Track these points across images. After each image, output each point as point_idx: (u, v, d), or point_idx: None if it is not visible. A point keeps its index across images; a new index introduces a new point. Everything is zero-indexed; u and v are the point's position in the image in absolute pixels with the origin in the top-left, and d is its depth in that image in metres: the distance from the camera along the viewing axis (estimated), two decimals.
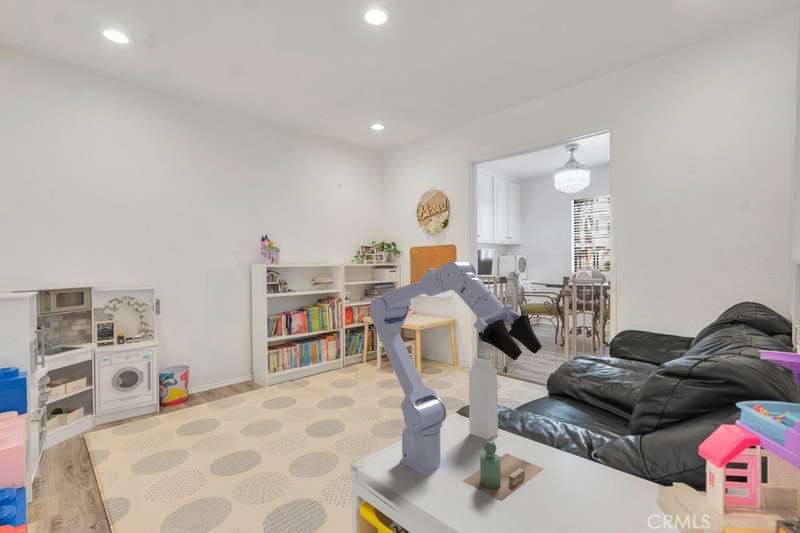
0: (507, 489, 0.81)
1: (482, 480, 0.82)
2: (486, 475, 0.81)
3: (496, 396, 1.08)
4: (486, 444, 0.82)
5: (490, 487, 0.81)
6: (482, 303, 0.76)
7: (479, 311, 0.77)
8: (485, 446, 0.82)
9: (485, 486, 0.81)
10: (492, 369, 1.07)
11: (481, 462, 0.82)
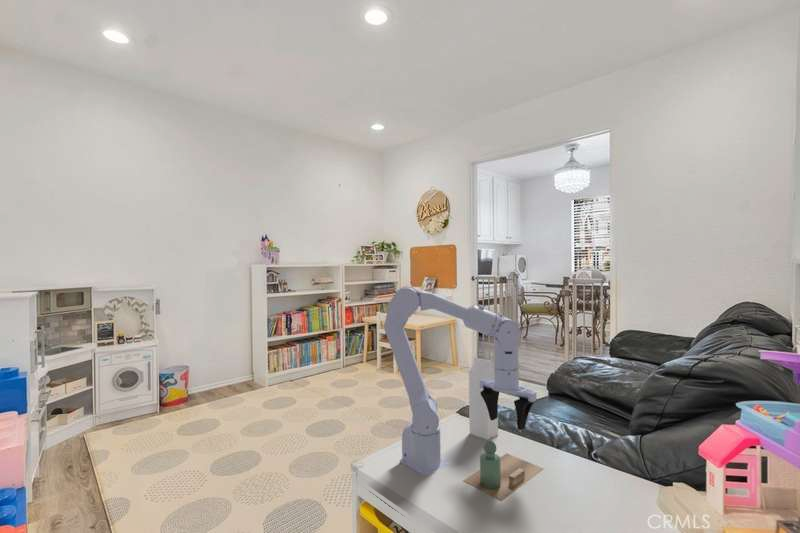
0: (507, 489, 0.81)
1: (482, 480, 0.82)
2: (486, 475, 0.81)
3: None
4: (486, 444, 0.82)
5: (490, 487, 0.81)
6: (518, 373, 0.90)
7: (515, 377, 0.89)
8: (485, 446, 0.82)
9: (485, 486, 0.81)
10: (492, 369, 1.07)
11: (481, 462, 0.82)
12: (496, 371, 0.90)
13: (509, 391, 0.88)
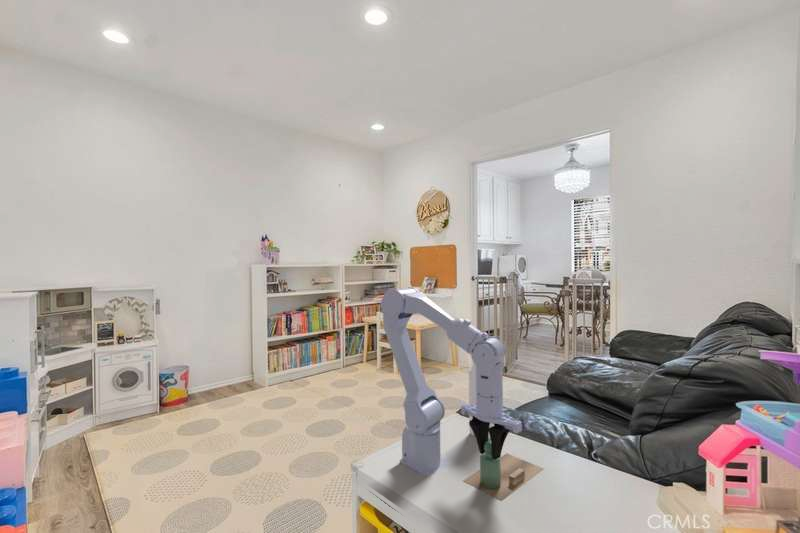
0: (507, 489, 0.81)
1: (482, 480, 0.82)
2: (486, 475, 0.81)
3: None
4: (486, 444, 0.82)
5: (490, 487, 0.81)
6: (502, 399, 0.82)
7: (499, 405, 0.81)
8: (485, 446, 0.82)
9: (485, 486, 0.81)
10: None
11: (481, 462, 0.82)
12: (478, 397, 0.82)
13: (492, 420, 0.80)
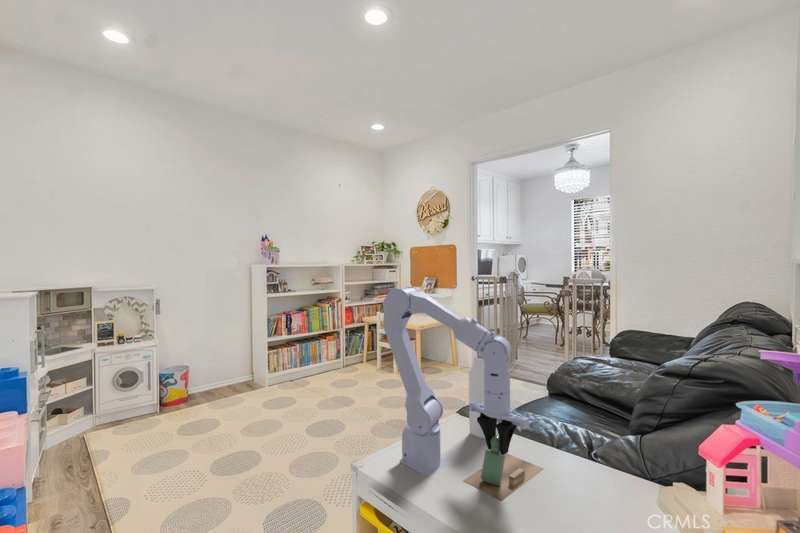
0: (507, 489, 0.81)
1: (484, 473, 0.82)
2: (489, 468, 0.82)
3: None
4: (494, 437, 0.84)
5: (491, 481, 0.81)
6: (509, 396, 0.84)
7: (506, 401, 0.82)
8: (492, 439, 0.84)
9: (486, 479, 0.81)
10: None
11: (486, 454, 0.83)
12: (486, 394, 0.84)
13: (500, 416, 0.82)
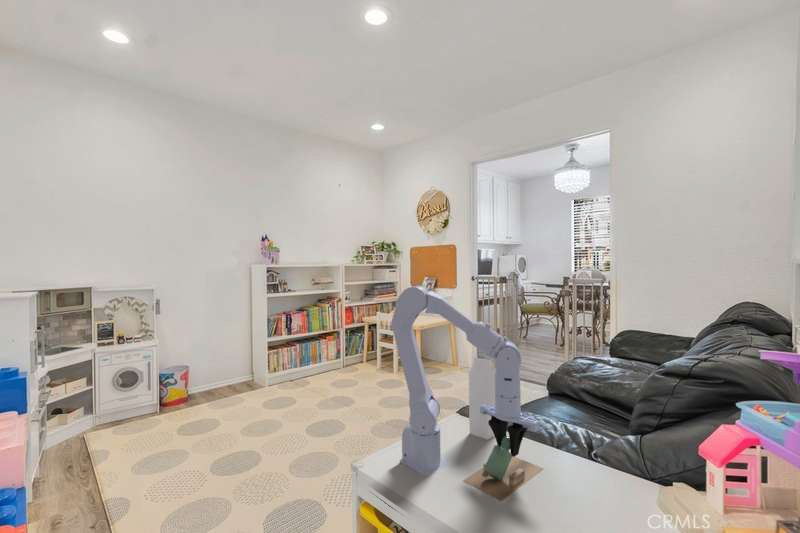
0: (507, 489, 0.81)
1: (488, 463, 0.84)
2: (495, 459, 0.83)
3: None
4: (506, 436, 0.88)
5: (494, 471, 0.82)
6: (520, 400, 0.87)
7: (517, 405, 0.85)
8: (504, 437, 0.87)
9: (490, 468, 0.82)
10: (492, 369, 1.07)
11: (495, 448, 0.86)
12: (497, 398, 0.87)
13: (511, 419, 0.84)
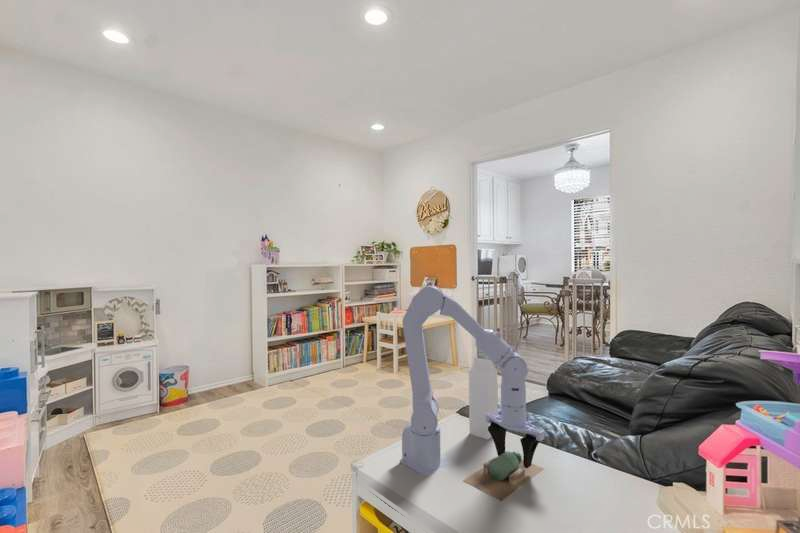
0: (507, 489, 0.81)
1: (497, 458, 0.85)
2: (505, 457, 0.86)
3: (496, 396, 1.08)
4: None
5: (502, 464, 0.84)
6: (525, 409, 0.88)
7: (523, 414, 0.87)
8: None
9: (498, 460, 0.84)
10: (492, 369, 1.07)
11: (505, 452, 0.88)
12: (503, 407, 0.88)
13: (516, 429, 0.86)
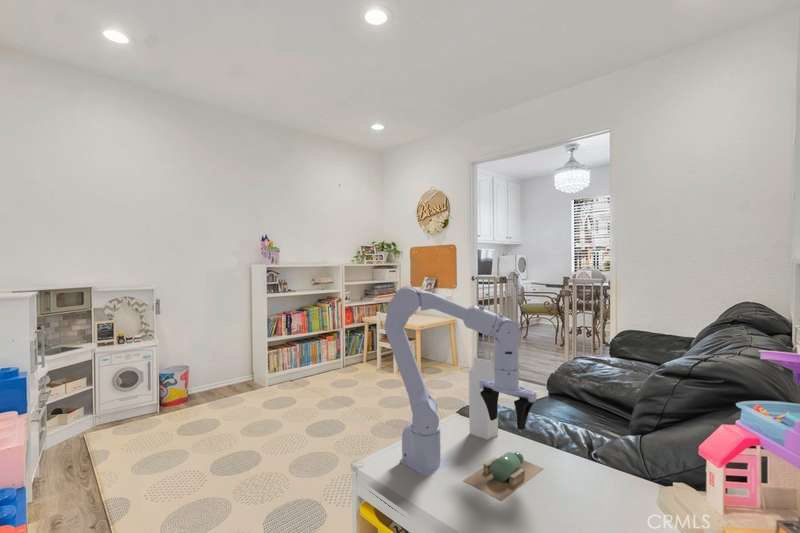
0: (507, 489, 0.81)
1: (501, 459, 0.85)
2: (508, 459, 0.85)
3: None
4: None
5: (505, 467, 0.83)
6: (518, 373, 0.90)
7: (515, 377, 0.89)
8: None
9: (502, 462, 0.84)
10: (492, 369, 1.07)
11: (509, 453, 0.88)
12: (496, 371, 0.90)
13: (509, 391, 0.88)
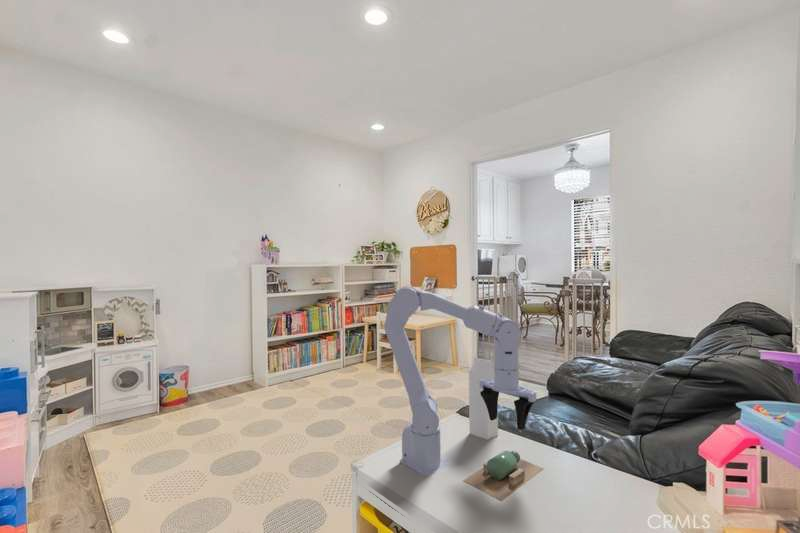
0: (507, 489, 0.81)
1: (494, 457, 0.86)
2: (502, 456, 0.86)
3: None
4: None
5: (499, 461, 0.84)
6: (518, 373, 0.90)
7: (515, 377, 0.89)
8: (513, 451, 0.91)
9: (495, 459, 0.85)
10: (492, 369, 1.07)
11: (502, 452, 0.89)
12: (496, 371, 0.90)
13: (509, 391, 0.88)
